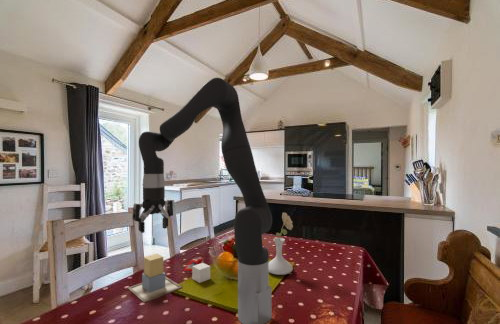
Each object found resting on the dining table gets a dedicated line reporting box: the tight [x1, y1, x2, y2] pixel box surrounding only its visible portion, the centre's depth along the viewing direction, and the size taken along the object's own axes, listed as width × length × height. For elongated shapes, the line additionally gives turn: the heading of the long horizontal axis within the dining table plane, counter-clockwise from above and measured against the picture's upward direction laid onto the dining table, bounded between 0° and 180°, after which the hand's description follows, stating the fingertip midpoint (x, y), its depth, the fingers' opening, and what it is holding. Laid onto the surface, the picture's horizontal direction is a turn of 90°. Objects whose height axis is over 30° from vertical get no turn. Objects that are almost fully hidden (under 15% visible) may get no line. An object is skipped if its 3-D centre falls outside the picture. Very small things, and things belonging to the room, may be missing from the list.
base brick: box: [141, 271, 166, 293], centre depth 92 cm, size 6×6×5 cm
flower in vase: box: [269, 212, 294, 276], centre depth 108 cm, size 13×11×25 cm
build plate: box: [127, 275, 183, 304], centre depth 92 cm, size 14×14×1 cm
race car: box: [183, 257, 205, 274], centre depth 111 cm, size 13×5×4 cm, turn 167°
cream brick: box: [191, 262, 211, 284], centre depth 99 cm, size 5×5×6 cm
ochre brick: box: [143, 253, 164, 278], centre depth 92 cm, size 5×5×6 cm
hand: (153, 230), depth 93 cm, fingers open, 8 cm apart
